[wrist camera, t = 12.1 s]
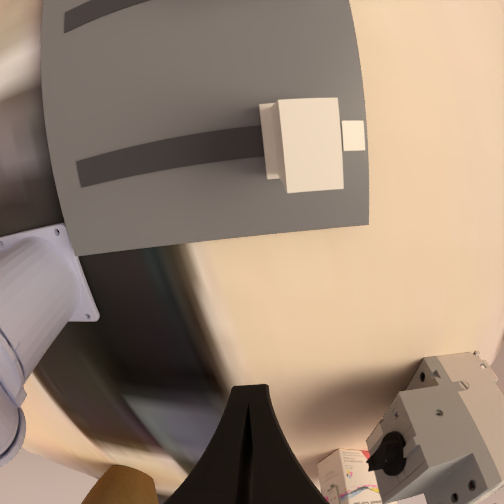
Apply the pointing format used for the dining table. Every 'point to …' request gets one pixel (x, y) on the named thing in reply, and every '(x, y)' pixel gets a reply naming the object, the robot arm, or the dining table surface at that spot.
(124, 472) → the plant pot
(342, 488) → the ink cartridge box
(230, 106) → the breaker panel
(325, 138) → the block
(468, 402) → the circuit breaker
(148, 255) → the dining table surface
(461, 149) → the dining table surface
